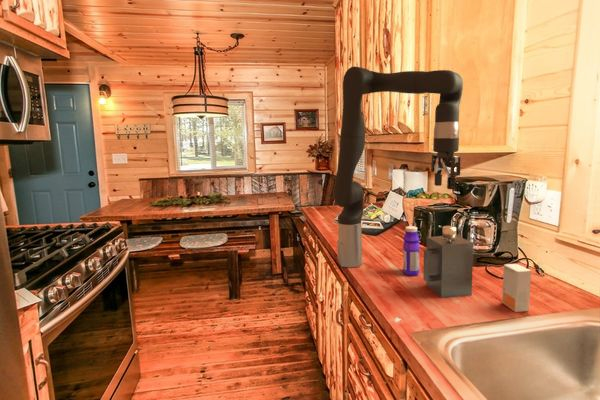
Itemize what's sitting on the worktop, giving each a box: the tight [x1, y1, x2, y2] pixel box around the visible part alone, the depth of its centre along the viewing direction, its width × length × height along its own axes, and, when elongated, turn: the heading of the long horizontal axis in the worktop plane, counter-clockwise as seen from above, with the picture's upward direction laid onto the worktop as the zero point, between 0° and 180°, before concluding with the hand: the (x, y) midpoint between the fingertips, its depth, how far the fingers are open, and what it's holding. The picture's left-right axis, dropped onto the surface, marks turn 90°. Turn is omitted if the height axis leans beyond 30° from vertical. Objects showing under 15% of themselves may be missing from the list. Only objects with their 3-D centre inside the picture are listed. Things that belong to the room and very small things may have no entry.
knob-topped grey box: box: [422, 234, 474, 299], centre depth 115 cm, size 13×10×17 cm
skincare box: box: [501, 263, 532, 313], centre depth 102 cm, size 6×4×12 cm
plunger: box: [442, 225, 457, 241], centre depth 115 cm, size 8×8×19 cm
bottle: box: [402, 225, 420, 277], centre depth 131 cm, size 7×6×17 cm
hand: (444, 187), depth 117 cm, fingers open, 8 cm apart
